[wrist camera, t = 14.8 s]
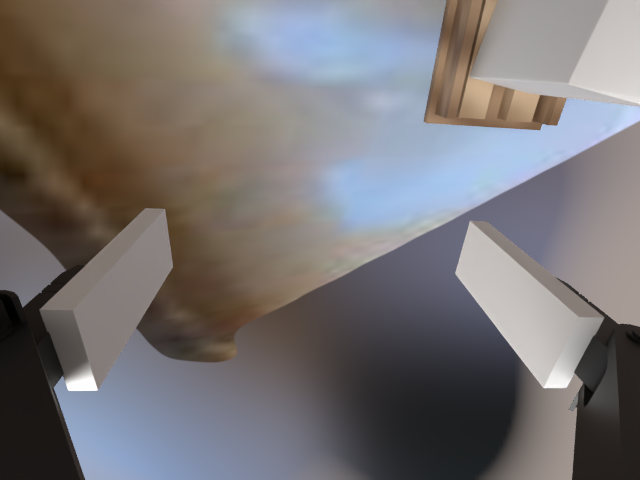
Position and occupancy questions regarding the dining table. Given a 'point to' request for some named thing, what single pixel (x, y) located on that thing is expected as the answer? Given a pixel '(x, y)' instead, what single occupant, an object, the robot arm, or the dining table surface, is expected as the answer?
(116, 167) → the dining table surface
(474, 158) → the dining table surface
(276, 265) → the dining table surface
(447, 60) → the display stand
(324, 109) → the dining table surface
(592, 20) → the milk carton
